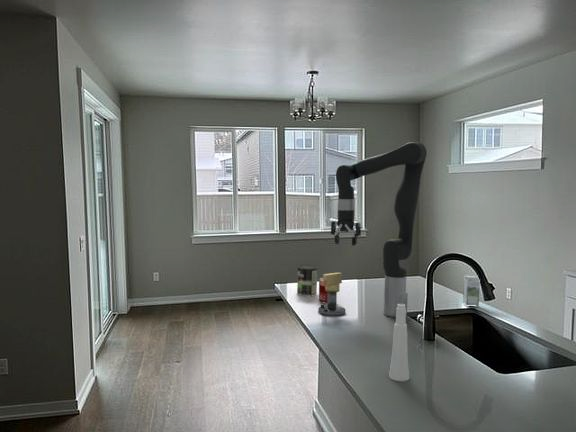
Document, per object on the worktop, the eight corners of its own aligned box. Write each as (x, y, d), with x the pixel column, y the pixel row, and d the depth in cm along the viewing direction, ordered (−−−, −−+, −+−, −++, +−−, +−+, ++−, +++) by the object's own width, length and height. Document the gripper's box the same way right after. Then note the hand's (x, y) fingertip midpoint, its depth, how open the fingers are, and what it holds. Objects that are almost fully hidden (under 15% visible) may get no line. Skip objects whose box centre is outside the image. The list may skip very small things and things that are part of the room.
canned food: (335, 303, 221) (336, 280, 220) (319, 303, 221) (319, 280, 221) (334, 299, 229) (335, 277, 228) (318, 299, 229) (318, 277, 228)
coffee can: (302, 297, 233) (303, 269, 232) (293, 292, 242) (294, 265, 241) (320, 295, 237) (321, 267, 236) (311, 290, 246) (311, 264, 245)
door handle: (334, 287, 211) (335, 271, 210) (344, 290, 205) (345, 274, 205) (317, 290, 204) (317, 274, 204) (326, 293, 199) (327, 276, 199)
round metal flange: (350, 311, 207) (350, 290, 206) (336, 317, 198) (336, 296, 197) (327, 307, 214) (328, 286, 214) (313, 312, 205) (313, 291, 204)
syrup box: (475, 304, 223) (476, 274, 222) (478, 307, 217) (480, 277, 216) (462, 303, 223) (464, 274, 222) (466, 307, 218) (467, 276, 216)
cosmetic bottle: (394, 371, 142) (396, 300, 141) (412, 376, 139) (415, 304, 137) (384, 377, 138) (387, 304, 136) (403, 383, 134) (406, 308, 132)
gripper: (363, 209, 209) (363, 245, 210) (336, 208, 218) (336, 242, 219) (356, 210, 203) (355, 246, 204) (328, 208, 212) (327, 244, 213)
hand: (345, 244), depth 212 cm, fingers open, 8 cm apart
